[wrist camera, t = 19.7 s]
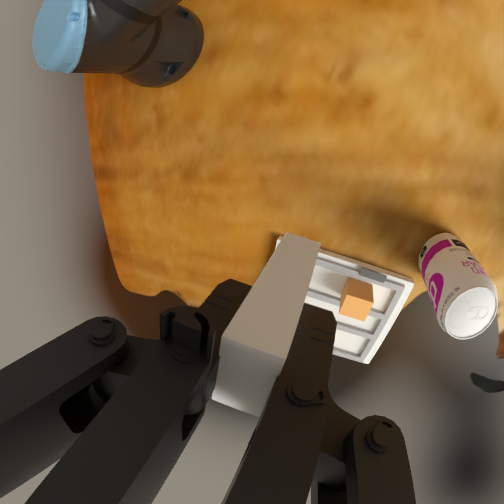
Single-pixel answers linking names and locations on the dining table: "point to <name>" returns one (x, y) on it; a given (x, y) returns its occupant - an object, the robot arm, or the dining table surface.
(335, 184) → the dining table surface
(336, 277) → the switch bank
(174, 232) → the dining table surface
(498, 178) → the dining table surface
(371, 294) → the orange block
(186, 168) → the dining table surface
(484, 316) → the supplement can
